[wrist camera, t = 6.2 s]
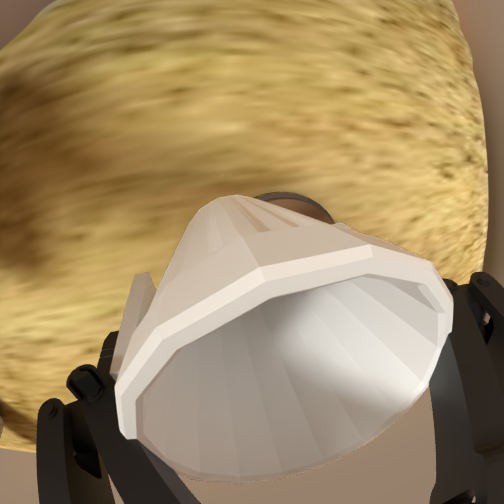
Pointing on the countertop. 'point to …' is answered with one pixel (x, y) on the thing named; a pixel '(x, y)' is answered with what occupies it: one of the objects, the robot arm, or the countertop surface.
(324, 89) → the countertop surface
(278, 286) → the cup
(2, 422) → the planter
